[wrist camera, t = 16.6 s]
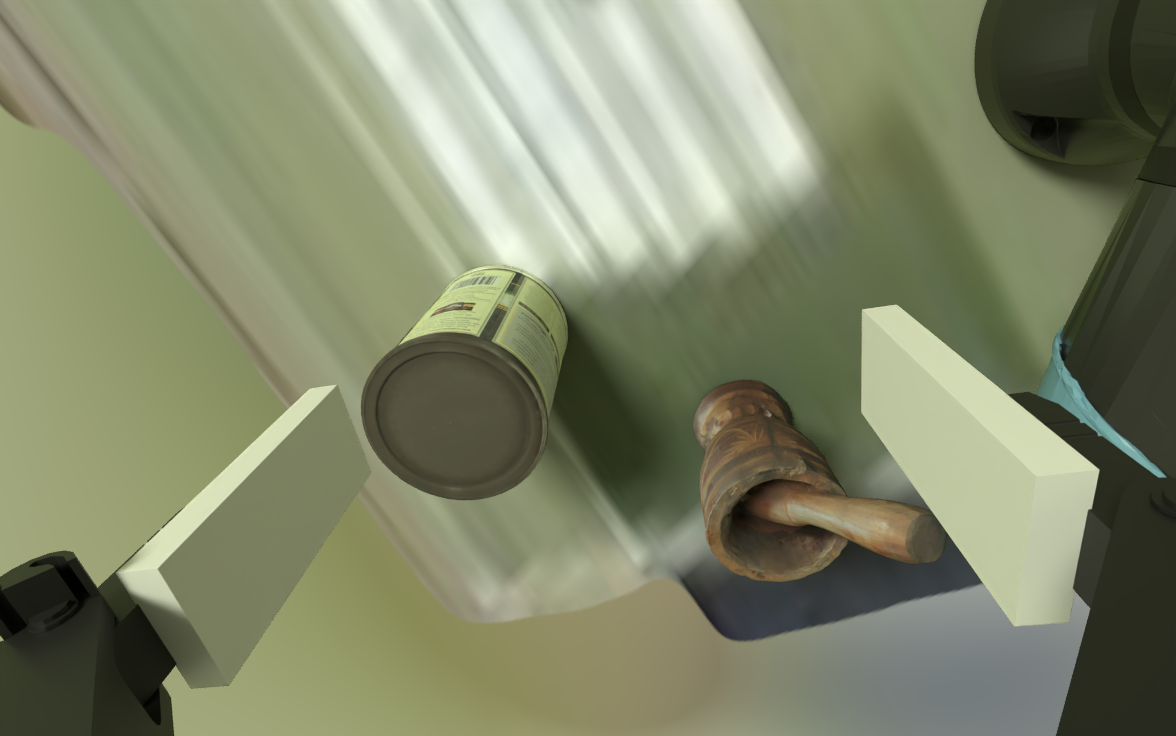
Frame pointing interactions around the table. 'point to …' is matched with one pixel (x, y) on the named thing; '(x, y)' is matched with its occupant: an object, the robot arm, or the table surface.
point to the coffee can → (470, 386)
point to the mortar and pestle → (789, 494)
